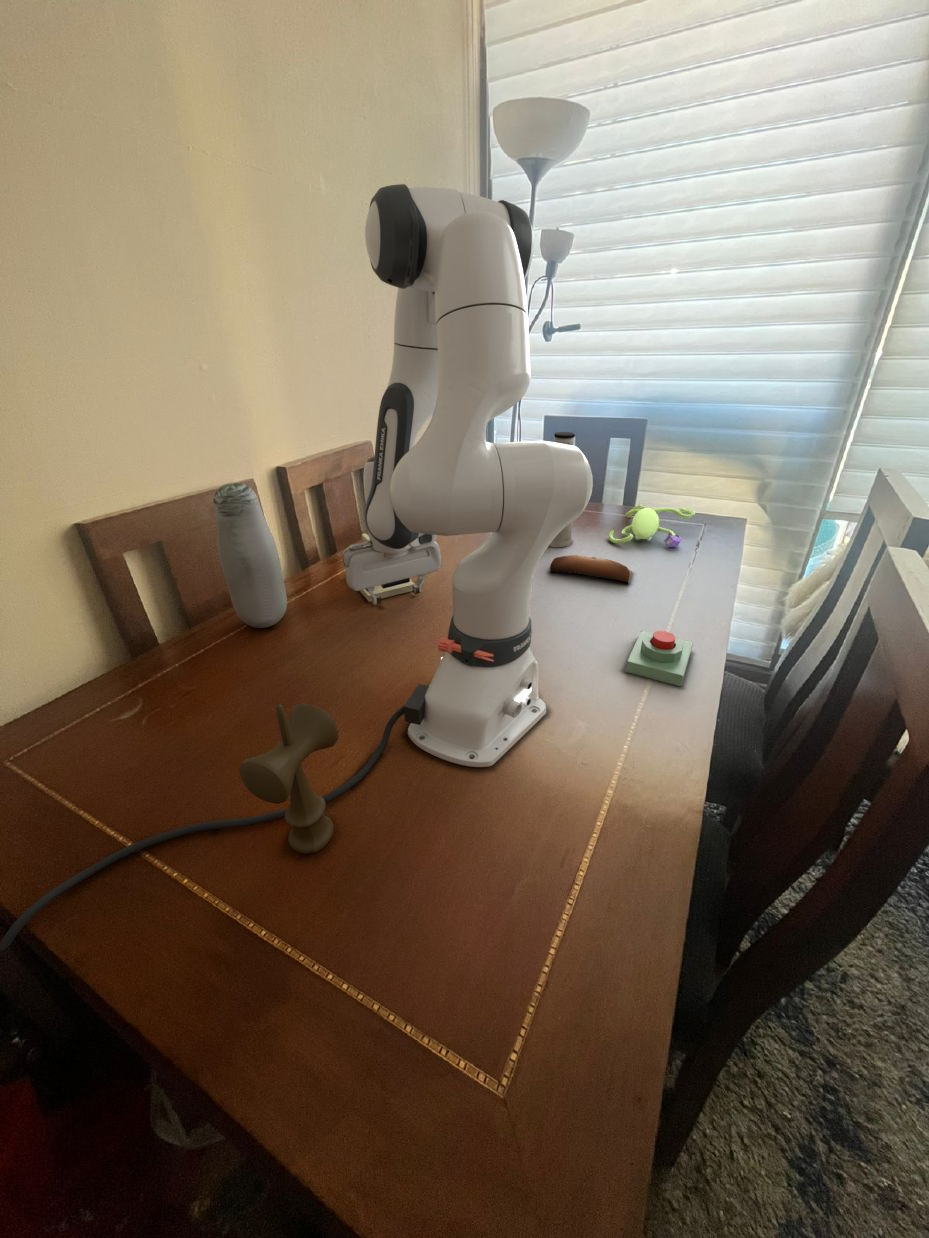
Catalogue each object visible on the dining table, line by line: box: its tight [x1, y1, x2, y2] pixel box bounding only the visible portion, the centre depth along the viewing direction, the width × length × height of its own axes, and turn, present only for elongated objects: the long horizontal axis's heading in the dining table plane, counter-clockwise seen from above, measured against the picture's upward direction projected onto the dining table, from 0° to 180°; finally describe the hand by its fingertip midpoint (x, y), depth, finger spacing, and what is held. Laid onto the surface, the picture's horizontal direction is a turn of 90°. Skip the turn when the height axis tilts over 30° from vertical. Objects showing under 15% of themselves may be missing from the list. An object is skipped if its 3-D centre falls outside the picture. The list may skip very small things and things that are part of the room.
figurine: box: [608, 504, 696, 548], centre depth 141 cm, size 18×27×6 cm
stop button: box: [651, 630, 677, 650], centre depth 87 cm, size 4×4×2 cm
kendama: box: [238, 702, 339, 855], centre depth 55 cm, size 6×10×20 cm, turn 160°
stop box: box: [624, 630, 694, 687], centre depth 89 cm, size 11×9×4 cm
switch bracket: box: [358, 533, 416, 603], centre depth 115 cm, size 14×11×12 cm
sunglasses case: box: [549, 554, 632, 585], centre depth 120 cm, size 18×7×7 cm, turn 68°
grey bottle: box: [212, 482, 288, 629], centre depth 96 cm, size 10×10×28 cm
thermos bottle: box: [548, 431, 576, 548], centre depth 131 cm, size 8×8×28 cm
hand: (397, 597), depth 110 cm, fingers open, 8 cm apart
